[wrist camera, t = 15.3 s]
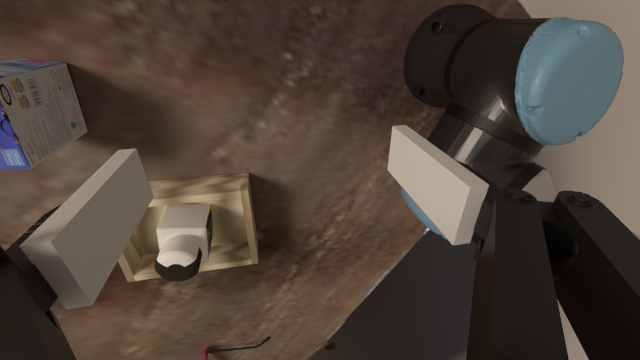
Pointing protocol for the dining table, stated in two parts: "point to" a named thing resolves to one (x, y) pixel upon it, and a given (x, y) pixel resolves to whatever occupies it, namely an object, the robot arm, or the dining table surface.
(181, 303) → the dining table surface
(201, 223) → the medicine bottle
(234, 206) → the birch box
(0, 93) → the ink cartridge box
